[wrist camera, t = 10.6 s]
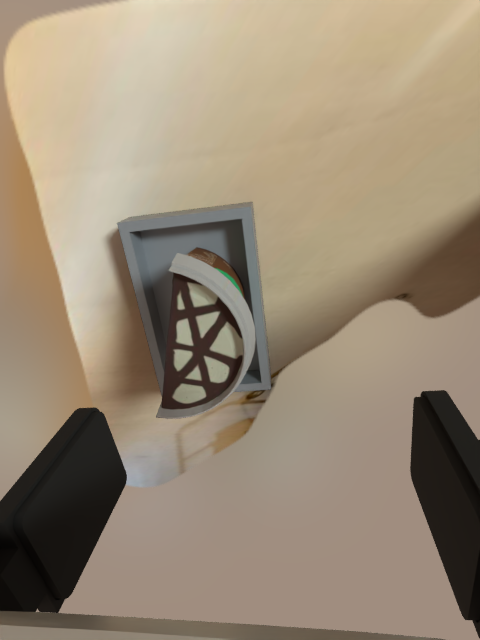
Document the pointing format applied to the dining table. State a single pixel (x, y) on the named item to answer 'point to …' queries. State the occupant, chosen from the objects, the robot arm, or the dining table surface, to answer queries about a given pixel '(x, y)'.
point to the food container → (205, 335)
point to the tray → (182, 237)
